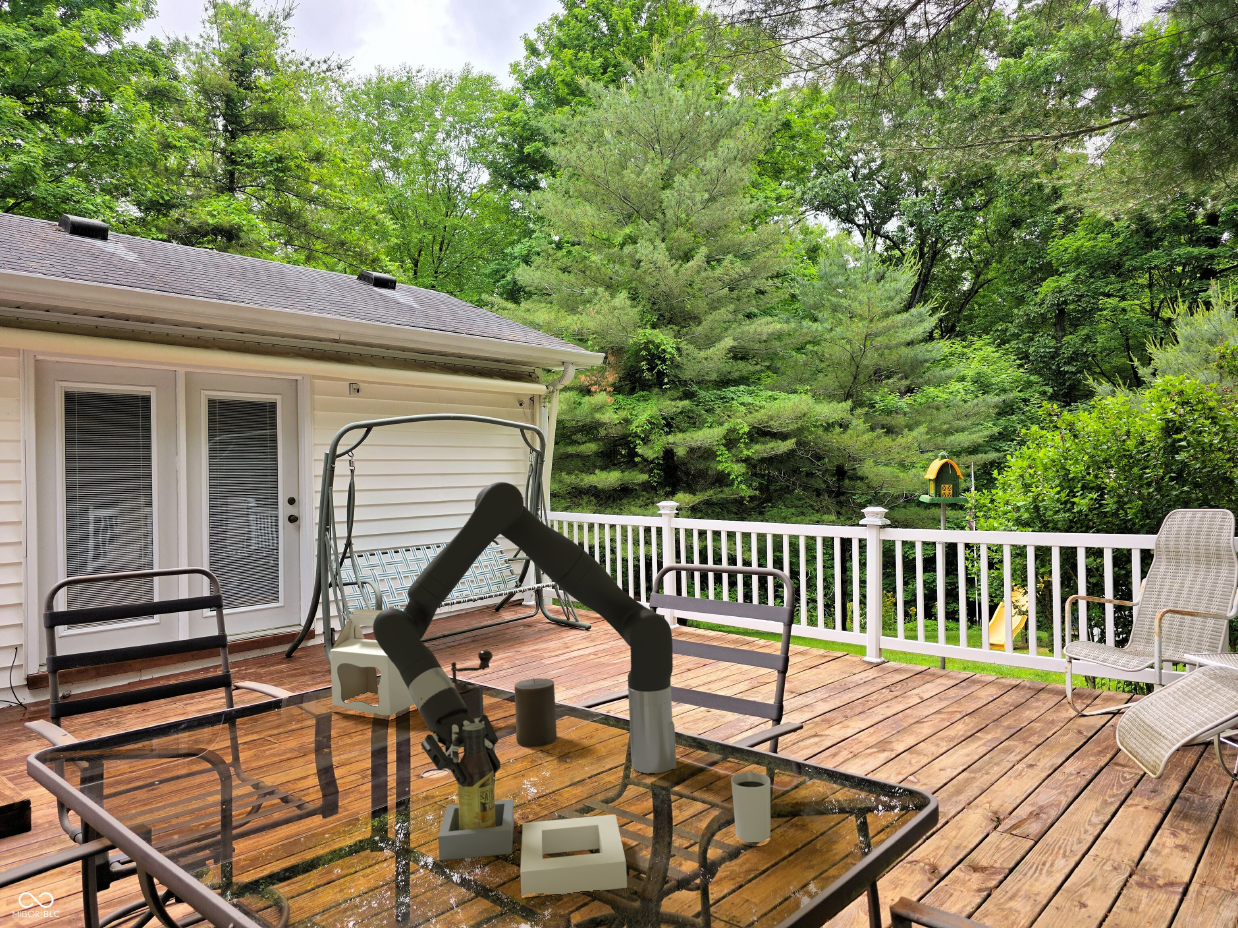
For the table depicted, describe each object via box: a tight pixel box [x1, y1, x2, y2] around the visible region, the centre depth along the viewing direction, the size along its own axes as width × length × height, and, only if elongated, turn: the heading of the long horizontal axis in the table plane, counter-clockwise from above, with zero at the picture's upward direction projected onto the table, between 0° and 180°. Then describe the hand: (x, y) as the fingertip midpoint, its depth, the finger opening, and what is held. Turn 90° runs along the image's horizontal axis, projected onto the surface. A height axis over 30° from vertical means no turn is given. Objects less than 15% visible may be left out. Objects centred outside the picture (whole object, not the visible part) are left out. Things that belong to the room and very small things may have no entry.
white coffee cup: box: [730, 771, 771, 842], centre depth 128 cm, size 7×7×10 cm
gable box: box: [329, 608, 415, 715], centre depth 212 cm, size 22×13×28 cm, turn 63°
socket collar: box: [519, 814, 628, 897], centre depth 122 cm, size 16×16×4 cm
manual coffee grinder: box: [450, 649, 494, 719], centre depth 196 cm, size 16×11×18 cm
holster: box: [437, 799, 515, 862], centre depth 132 cm, size 12×12×4 cm
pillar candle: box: [513, 677, 558, 748], centre depth 181 cm, size 10×10×15 cm
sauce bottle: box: [457, 723, 497, 830], centre depth 132 cm, size 7×6×20 cm
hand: (482, 776), depth 131 cm, fingers closed on sauce bottle, 6 cm apart
